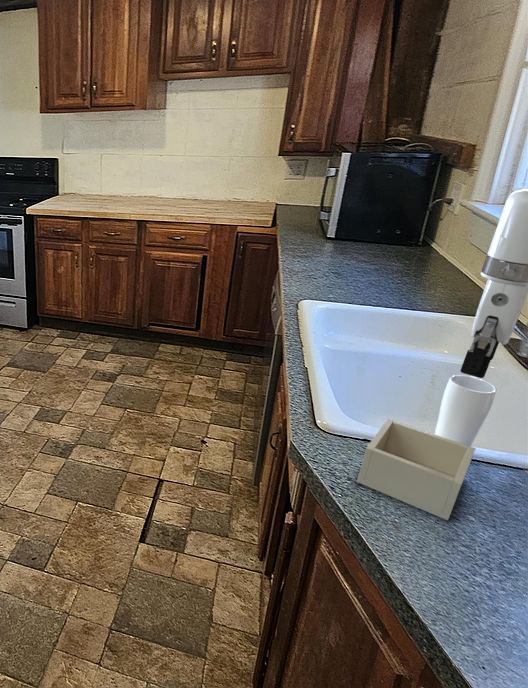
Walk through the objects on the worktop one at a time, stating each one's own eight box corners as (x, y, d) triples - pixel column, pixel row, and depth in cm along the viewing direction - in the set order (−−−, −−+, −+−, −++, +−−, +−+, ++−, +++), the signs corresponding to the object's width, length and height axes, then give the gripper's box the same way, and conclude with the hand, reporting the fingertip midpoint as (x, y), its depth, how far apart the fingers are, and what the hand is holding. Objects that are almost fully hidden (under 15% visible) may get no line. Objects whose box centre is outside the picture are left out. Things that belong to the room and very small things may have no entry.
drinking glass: (432, 440, 102) (455, 371, 96) (474, 456, 97) (502, 385, 91) (419, 453, 98) (443, 381, 92) (463, 471, 93) (491, 397, 87)
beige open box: (462, 482, 90) (475, 448, 88) (447, 520, 82) (461, 484, 79) (378, 450, 99) (387, 418, 96) (356, 482, 90) (366, 447, 87)
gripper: (538, 287, 76) (497, 390, 83) (547, 265, 87) (510, 357, 94) (474, 275, 81) (440, 374, 87) (490, 256, 92) (459, 344, 99)
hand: (476, 365), depth 91 cm, fingers open, 9 cm apart
